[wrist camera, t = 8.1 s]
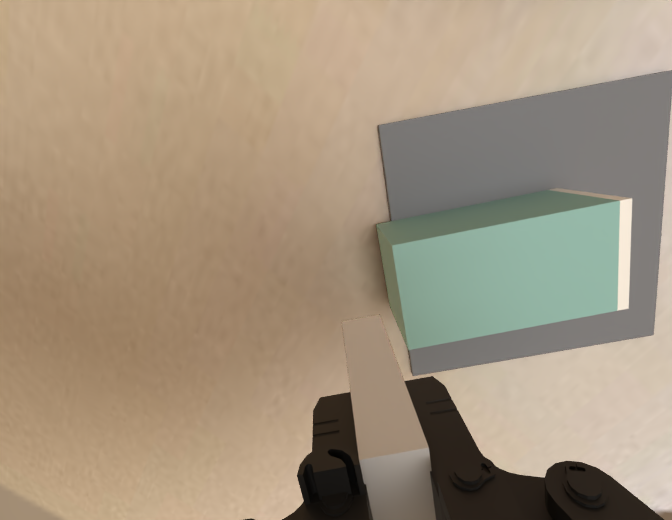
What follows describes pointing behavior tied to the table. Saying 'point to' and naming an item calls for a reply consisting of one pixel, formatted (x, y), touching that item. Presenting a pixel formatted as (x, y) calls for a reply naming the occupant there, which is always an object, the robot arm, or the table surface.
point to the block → (507, 264)
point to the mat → (539, 175)
